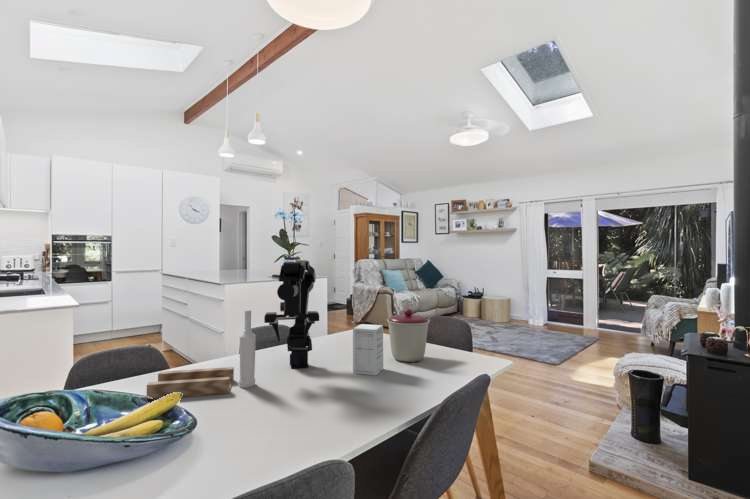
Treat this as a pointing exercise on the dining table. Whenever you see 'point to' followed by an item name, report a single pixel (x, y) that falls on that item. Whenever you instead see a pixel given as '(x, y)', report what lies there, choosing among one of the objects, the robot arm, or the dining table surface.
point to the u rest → (192, 382)
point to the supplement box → (368, 349)
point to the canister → (408, 336)
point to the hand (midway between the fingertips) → (291, 341)
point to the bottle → (247, 354)
